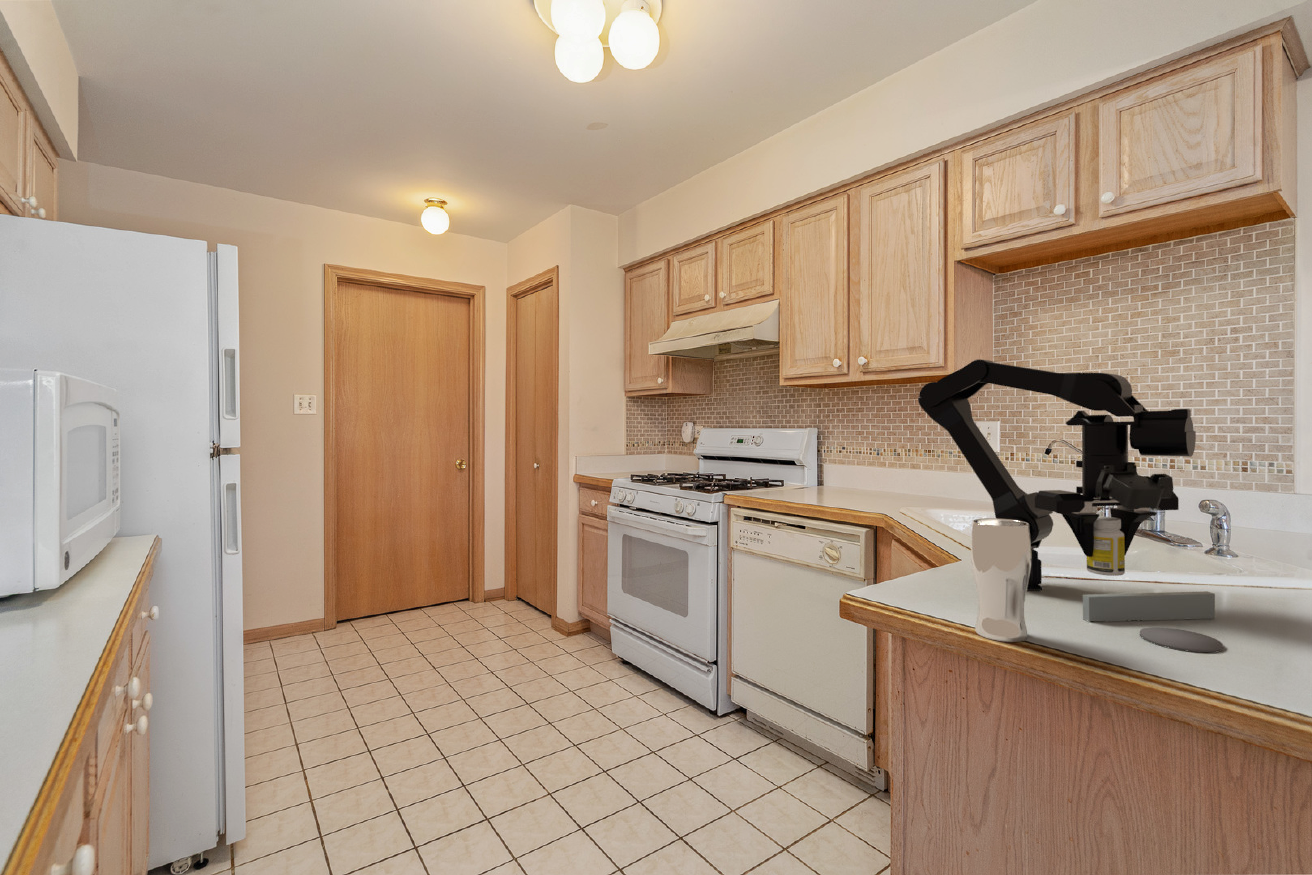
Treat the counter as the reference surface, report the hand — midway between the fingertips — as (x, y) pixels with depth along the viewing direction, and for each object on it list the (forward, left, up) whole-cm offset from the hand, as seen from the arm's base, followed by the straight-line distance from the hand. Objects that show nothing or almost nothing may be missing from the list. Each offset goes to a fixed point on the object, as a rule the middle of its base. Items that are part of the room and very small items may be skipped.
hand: (1105, 555), depth 94 cm
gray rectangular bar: (+2, -8, -7) cm, 11 cm away
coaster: (+1, -17, -7) cm, 18 cm away
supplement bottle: (0, 0, -3) cm, 3 cm away
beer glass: (-20, -18, -7) cm, 28 cm away
